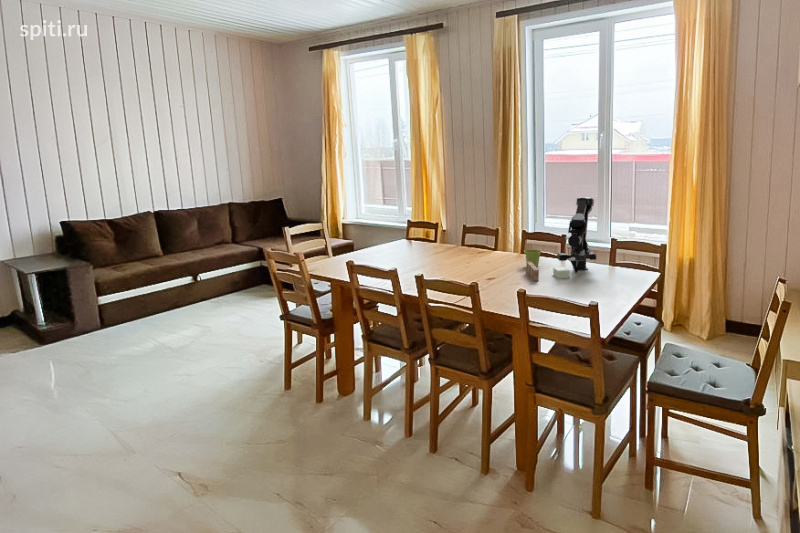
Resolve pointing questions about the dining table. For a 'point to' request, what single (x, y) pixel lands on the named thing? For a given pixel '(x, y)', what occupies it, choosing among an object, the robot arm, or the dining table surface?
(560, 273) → the sage block
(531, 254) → the plant pot
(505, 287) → the dining table surface
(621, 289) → the dining table surface
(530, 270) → the walnut batten
